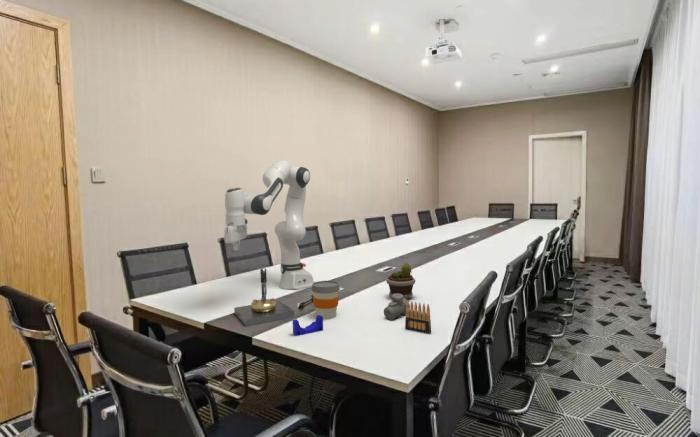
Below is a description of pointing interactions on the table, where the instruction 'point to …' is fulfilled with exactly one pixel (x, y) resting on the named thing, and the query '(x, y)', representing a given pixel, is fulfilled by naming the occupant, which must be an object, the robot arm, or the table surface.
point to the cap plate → (263, 314)
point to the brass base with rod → (263, 297)
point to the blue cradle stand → (311, 328)
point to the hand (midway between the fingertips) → (236, 250)
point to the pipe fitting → (396, 306)
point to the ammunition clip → (418, 318)
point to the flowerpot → (401, 282)
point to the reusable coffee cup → (325, 298)
